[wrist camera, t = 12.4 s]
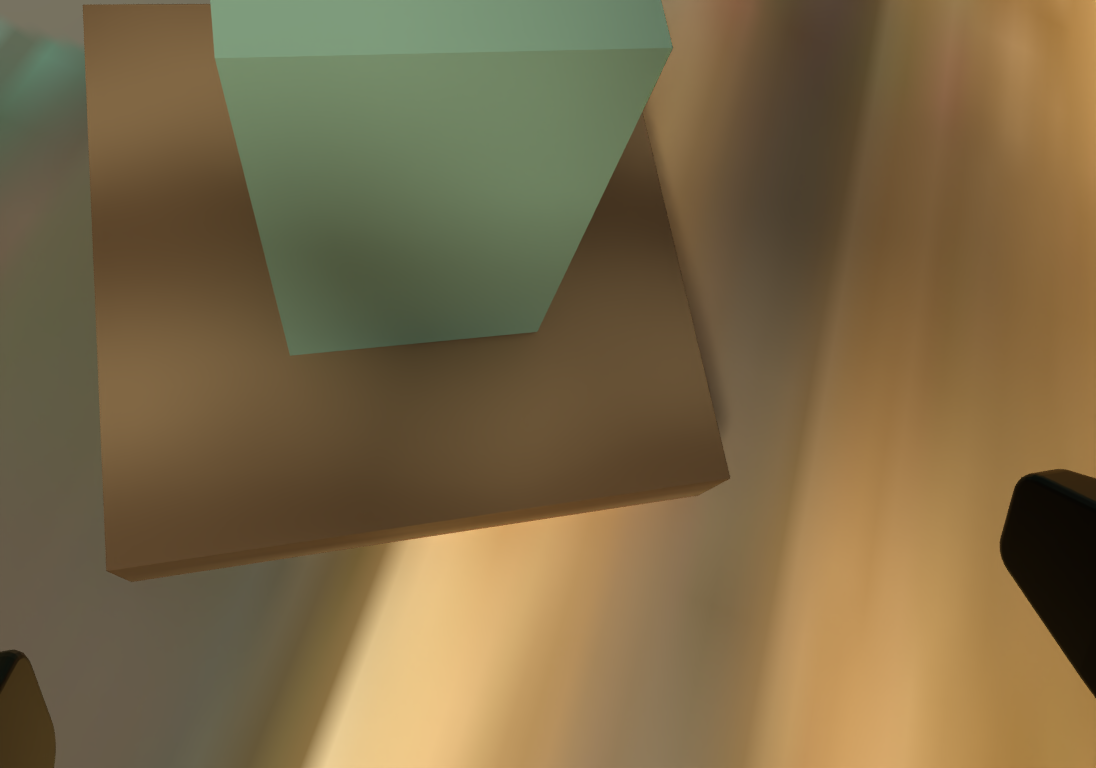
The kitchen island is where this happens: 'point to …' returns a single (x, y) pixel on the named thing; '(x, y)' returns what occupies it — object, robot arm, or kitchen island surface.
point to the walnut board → (350, 355)
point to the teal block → (428, 153)
